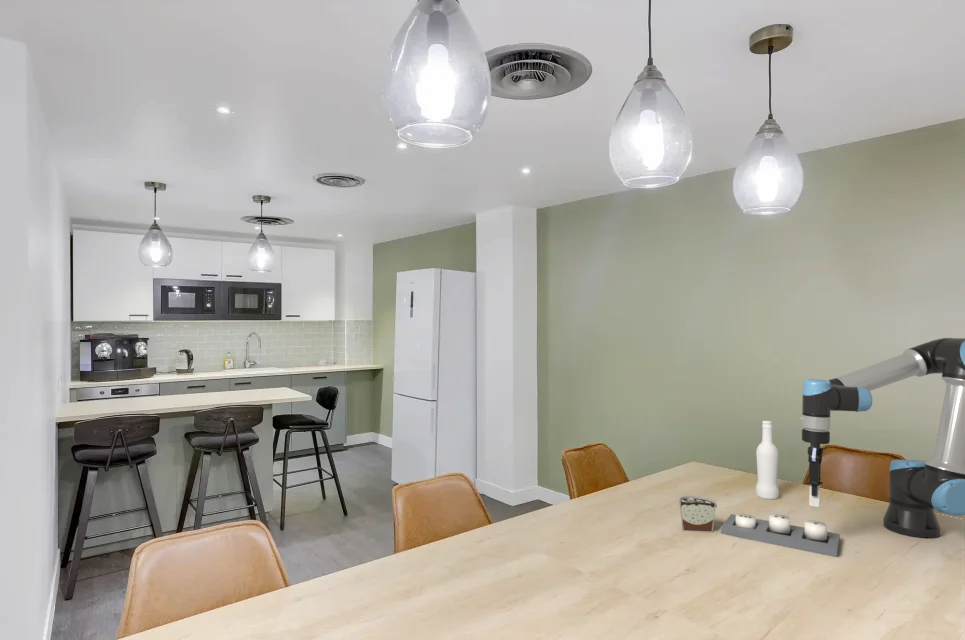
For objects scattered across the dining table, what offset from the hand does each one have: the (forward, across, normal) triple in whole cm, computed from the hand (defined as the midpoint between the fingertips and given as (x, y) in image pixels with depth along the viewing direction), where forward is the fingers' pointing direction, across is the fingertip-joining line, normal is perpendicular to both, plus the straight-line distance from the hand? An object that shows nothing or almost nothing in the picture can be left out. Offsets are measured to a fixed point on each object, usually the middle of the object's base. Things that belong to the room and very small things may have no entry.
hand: (814, 505), depth 176 cm
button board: (+12, 0, -10) cm, 15 cm away
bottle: (+12, -45, -20) cm, 51 cm away
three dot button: (+12, 0, -20) cm, 23 cm away
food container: (+13, +8, -34) cm, 37 cm away
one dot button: (+10, 0, 0) cm, 10 cm away
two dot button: (+10, 0, -10) cm, 14 cm away
